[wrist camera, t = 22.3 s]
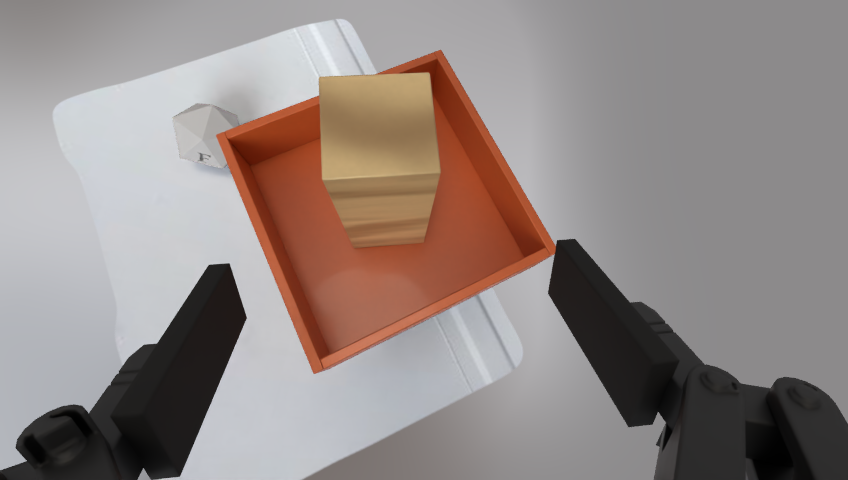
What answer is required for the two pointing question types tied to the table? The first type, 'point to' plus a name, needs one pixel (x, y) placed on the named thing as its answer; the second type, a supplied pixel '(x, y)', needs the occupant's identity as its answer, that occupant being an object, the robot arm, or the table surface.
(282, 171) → the pedestal with orange tray
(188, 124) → the die
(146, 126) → the table surface
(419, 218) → the block
